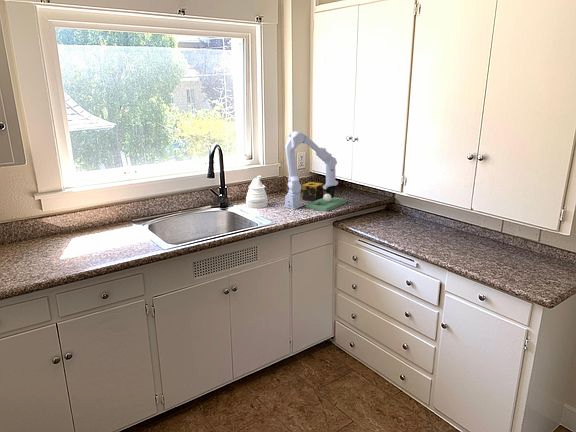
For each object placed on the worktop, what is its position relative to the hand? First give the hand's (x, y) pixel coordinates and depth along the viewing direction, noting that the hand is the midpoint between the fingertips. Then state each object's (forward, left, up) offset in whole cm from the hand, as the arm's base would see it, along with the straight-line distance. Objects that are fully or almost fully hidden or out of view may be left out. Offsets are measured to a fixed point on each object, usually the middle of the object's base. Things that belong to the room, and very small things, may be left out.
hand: (330, 198), depth 260 cm
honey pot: (-29, +34, -4) cm, 45 cm away
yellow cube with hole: (+2, +14, -4) cm, 15 cm away
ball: (-4, 0, +1) cm, 4 cm away
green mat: (-4, 0, -4) cm, 5 cm away
